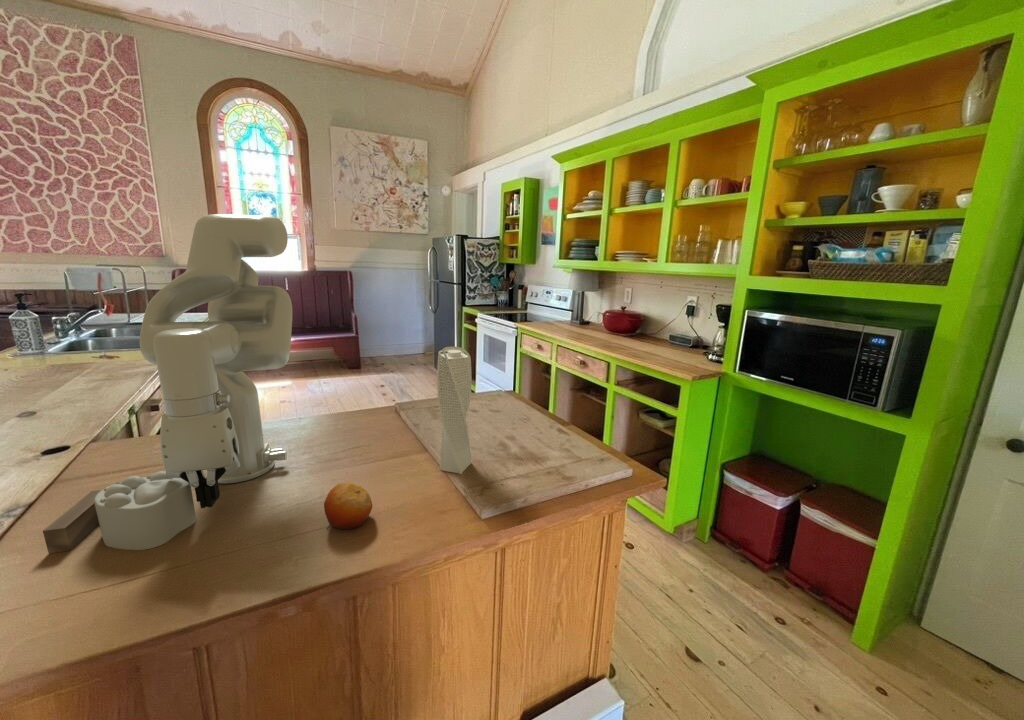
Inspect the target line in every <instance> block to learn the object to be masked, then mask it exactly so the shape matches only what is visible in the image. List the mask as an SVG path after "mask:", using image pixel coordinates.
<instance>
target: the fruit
mask: <svg viewBox="0 0 1024 720" xmlns="http://www.w3.org/2000/svg"><path fill="white" fill-rule="evenodd" d="M325 497H326V498H325V501H324V502H323V508H324V514H325V517H326V519H327V522H328V524H329V525H328V526H327V527H326V530H328V529H330V528H331V527H334V528H337V529H341V530H347V529H348V530H349V529H351V530H353V529H357V528H359V527H360V526H361V525H363V523H365V521H366V520H367V518H368V517H369V516H370V515H371V512H372V510H373V501H372V498H371V495H370V493H369V492H368V490H367V489H366V488H365V487H363V486H362V485H360V484H357V483H354V482H344V483H343V482H342V483H338V484H335V486H333V488H331V489H330V490H329V492H328V493H327V495H326V496H325Z"/></svg>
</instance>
